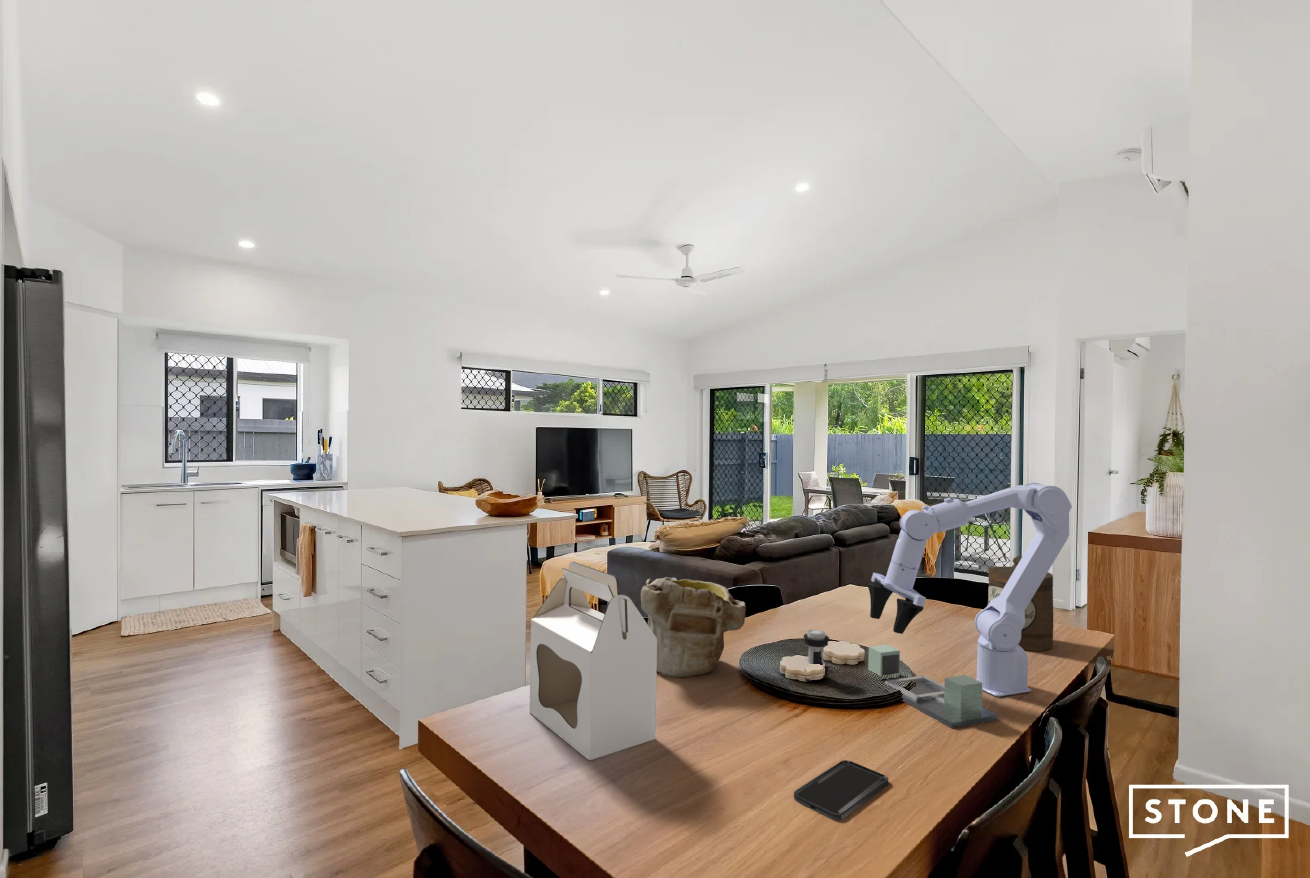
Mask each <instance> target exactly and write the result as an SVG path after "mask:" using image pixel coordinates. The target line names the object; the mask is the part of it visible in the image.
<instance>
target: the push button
mask: <svg viewBox="0 0 1310 878" xmlns="http://www.w3.org/2000/svg"><path fill="white" fill-rule="evenodd" d="M803 639H804V644H805V645H807V647H808V656H807V658H808V659H807V660H808V663H809V664H820V665H825V661H824V652H825V651H824V650H825V649H824V648H825V647H827V646H828V645H829V640H830V637H829V636H828V635H826V633H825V631H823V630H820V629H809V630H808V631H807V633H804V634H803ZM808 663H807V664H808ZM828 670H829V667H828V666H827V665H825V677H828V674H829V673H828Z"/></svg>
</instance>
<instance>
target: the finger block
mask: <svg viewBox="0 0 1310 878" xmlns="http://www.w3.org/2000/svg"><path fill="white" fill-rule="evenodd" d="M900 657H901V651H900V649H897V648H896V647H893V646H892V645H890V644H882V645H873V646H868V663H867V665H868V667H867V668H868V669H867V671H868V670H870V671H872V672H874V673H877V674H878V675H880V676H882V675H891V674H895V673H899V674H900V666H901V665H900V664H901V663H900V662H901V661H900V660H901V659H900Z"/></svg>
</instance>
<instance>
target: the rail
mask: <svg viewBox="0 0 1310 878" xmlns="http://www.w3.org/2000/svg"><path fill="white" fill-rule="evenodd" d="M976 679H977V678H973V677H971V676H969V675H967V674H963V675H956V676H949V677H944V684H942V683H940V682H938V681H936V680H933V678H930V677H928V676H926V675H919V676H917V675H916V676H910V677H904V678H895V679H887V680H884V681H885V684H887V685H889V686H892V687H893V688H896V689H898V690H900V691H901V693H902V694H903V695H902V698H903V700H901V701H902V702H904V703H906V704H907V705H909V706H911V707H913V708H915V709H916V710H918V711H920V712H922V713H924V714H926V715H928V716H929V717H930V718H933V719H934V720H936V721H938V722H939V723H942V724H943V725H945V726H947V727H948V728H951V729H956V728H962V727H963V728H964V727H967V726H973V725H979V724H985V723H989V722H991V723H992V722H995V721H997V722H998V721H999V714H997V713H995V712H994V711H992V710H990V709H987V708H986V707H983V690H982V682H980V681H978V680H976ZM907 681H914V682H917V683H916V687H913V688H912V689H911V690H910V691H908V690H906V689H905V688H903V687H901V686H899V685H897V684H898V683H901V682H907Z"/></svg>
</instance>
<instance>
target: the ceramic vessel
mask: <svg viewBox="0 0 1310 878" xmlns="http://www.w3.org/2000/svg"><path fill="white" fill-rule="evenodd" d="M645 583H646V585H644V586H642V588H641V591H640V601H641V610H642V611H643V612H644V613H645V614H646V615H647V625H648V626H649V628H650V629H651V631H652V632H653V634H654V635H655V636H656V637H657V672H658V673H660V674H662V675H664V676H668V677H674V678H686V677H692V676H697V675H698V676H699V675H703V674H704V675H705V674H709V673H713V672H714V670H715V669H716V667H717V665H718V663H719V661H720V659H721V657H722V654H723V651H724V649H725V640H724V639H725V637H724V634H725V632H730V631H732V632H733V631H738V630H740V629H742V628H743V626H744V625H745V620H746V612H747V607H746V606H747V605H746V602H744V601H741V600H737V599H734V597H733V596H732V595H731V593H730V592H729V589H728V588H726V586H724V585H721V584H718V583H715V582H712V581H702V580H693V579H687V578H683V579H679V580H678V579H677V577H669V576H665V577H663V578H656V579H655V580H653V581H652V579H651V578H648V579H647V580H646V581H645Z"/></svg>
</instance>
